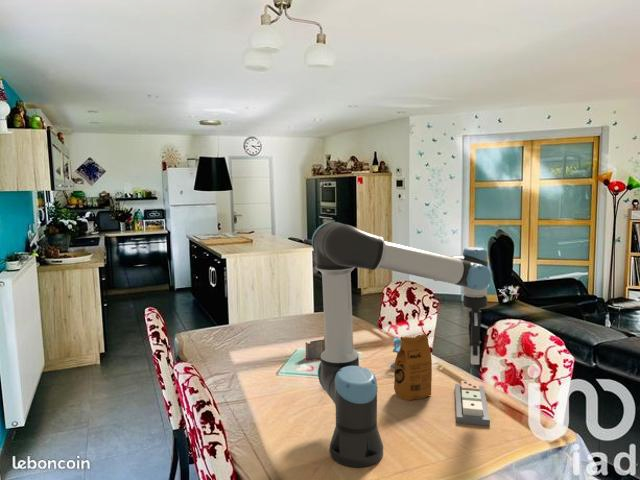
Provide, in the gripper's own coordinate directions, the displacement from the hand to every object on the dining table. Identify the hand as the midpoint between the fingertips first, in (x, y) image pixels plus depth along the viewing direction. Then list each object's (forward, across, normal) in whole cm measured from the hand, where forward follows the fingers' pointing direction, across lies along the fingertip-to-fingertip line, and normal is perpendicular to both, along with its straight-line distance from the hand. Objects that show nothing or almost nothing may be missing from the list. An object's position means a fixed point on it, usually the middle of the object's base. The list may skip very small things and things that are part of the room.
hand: (474, 363), depth 161 cm
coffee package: (+16, +6, +21) cm, 27 cm away
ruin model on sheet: (+16, +36, +64) cm, 75 cm away
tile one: (+14, -7, +1) cm, 15 cm away
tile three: (+14, +9, +1) cm, 17 cm away
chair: (+16, +34, +28) cm, 46 cm away
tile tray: (+16, +1, +1) cm, 16 cm away
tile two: (+14, +1, +1) cm, 14 cm away
